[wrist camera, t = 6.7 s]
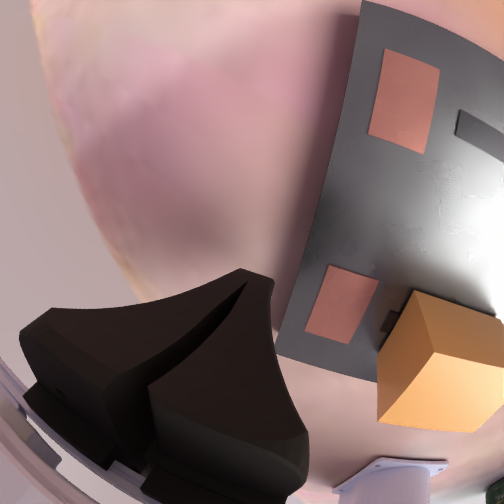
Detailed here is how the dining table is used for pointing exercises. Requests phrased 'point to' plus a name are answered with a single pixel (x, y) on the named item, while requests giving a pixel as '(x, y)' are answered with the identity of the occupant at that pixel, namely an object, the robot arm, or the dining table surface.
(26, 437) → the robot arm
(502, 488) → the coffee jar
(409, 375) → the plain orange cube
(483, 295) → the breaker panel
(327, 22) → the dining table surface
